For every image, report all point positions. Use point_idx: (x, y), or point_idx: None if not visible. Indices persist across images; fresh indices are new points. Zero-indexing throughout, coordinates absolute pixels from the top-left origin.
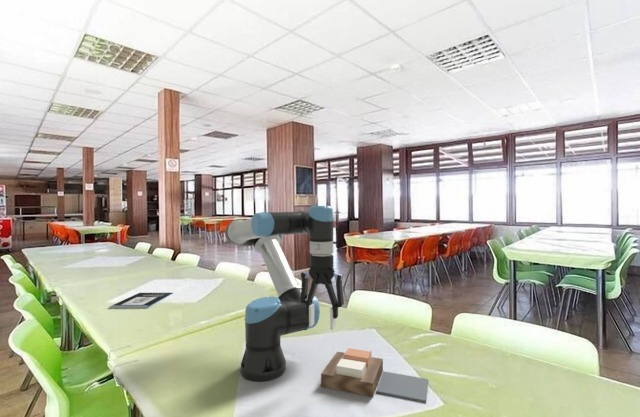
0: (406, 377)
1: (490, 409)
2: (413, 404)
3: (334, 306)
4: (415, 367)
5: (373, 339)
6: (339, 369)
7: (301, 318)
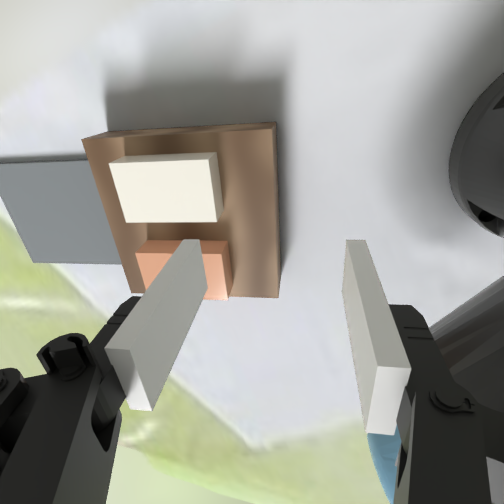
0: (76, 253)
1: None
2: (8, 142)
3: (63, 371)
4: (88, 308)
5: (233, 403)
6: (199, 156)
7: (468, 353)
